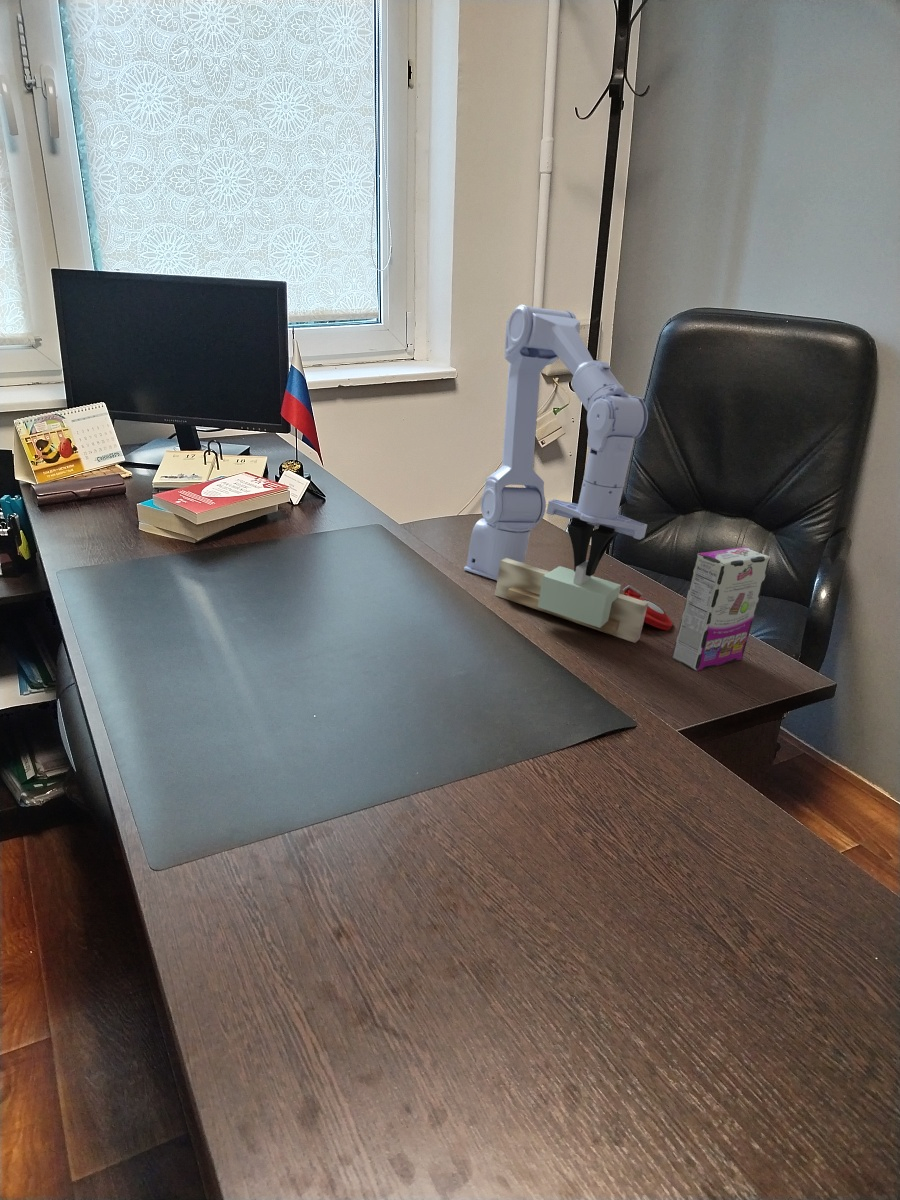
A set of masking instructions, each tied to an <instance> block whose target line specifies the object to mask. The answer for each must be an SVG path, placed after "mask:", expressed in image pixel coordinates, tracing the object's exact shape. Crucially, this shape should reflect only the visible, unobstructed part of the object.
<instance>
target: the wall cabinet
mask: <svg viewBox="0 0 900 1200" xmlns="http://www.w3.org/2000/svg"><path fill="white" fill-rule="evenodd" d="M587 563H588V559H586V561H585V562H583V563H582V564H580V565H578V566H577V567H576V571H575V572H574V569H571V568H568V567H564V566H561V565H559V566H557V567H555V568H554V569H552V570H551V571H550V572H549V573H547V574H546V575H544V576H543V579H542V585H541V590H540V596H539V602H538V607H539V608H542V609H545V610H548V611H551V612H554V613H557V614H560V615H563V616H566V617H569V618H572V619H575V620H578V621H581V622H584V623H587V624H590V625H593V626H596V627H599V628H600V627H601V626H603V625H604V624H605V623H606V622H607V621H608V619H609V614H610V609H611V605H612V602H613V601H614V600H616V599H617V598H618V597H619V593H620V591H621V586H622V584H619V583H616V582H613V581H610V580H607V579H603V578H600V577H597V576H594V575H591V576H587V575H586V567H587Z"/></svg>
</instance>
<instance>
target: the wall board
mask: <svg viewBox="0 0 900 1200" xmlns="http://www.w3.org/2000/svg"><path fill="white" fill-rule="evenodd" d="M549 572H550V571H549V570H546V569H543V568H539V567H537V566H534V565H530V564H527V563H525V562H524V563H521V562H518V561H515V560H512V559H509V558H505V559H503V560H501V562H500V568H499V573H498V579H497V580H496V586H495V591H494V596H496V597H499V598H501V599H505V600H507V601H511V602H513V603H517V604H520V605H522V606H525V607H529V608H531V609H535V610H537V611H540V612H543V613H547V614H549V615H551V616H555V617H558V618H561V619H564V620H567V621H569V622H573V623H576V624H578V625H582V626H584V627H587V628H591V629H593V630H597V631H599V632H603V633H604V634H607V635H611V636H614V637H616V638H619V639H623V640H625V641H628V642H632V643H635V644H636V643H637V642H638V641H639V640H640V639H641V634H642V630H643V628H644V627H643V626H644V624H645V622H644V619H645V614H646V610H647V606H648V602H645V601H642V600H639V599H636V598H632V597H629V596H626V595H623V594H624V593H620V592H619V597H618V598H617V599H616V600H614V601H613V602H612V605H611V609H610V614H609V619H608V621H607V622H606V623H605V624H604V625H603V626H601V627H600V628H599V627H596V626H593V625H590V624H587V623H584V622H581V621H578V620H575V619H572V618H569V617H566V616H563V615H560V614H557V613H554V612H551V611H548V610H545V609H542V608H539V607H538V602H539V596H540V590H541V585H542V579H543V576H544V575H546V574H547V573H549Z"/></svg>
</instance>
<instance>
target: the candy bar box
mask: <svg viewBox="0 0 900 1200" xmlns="http://www.w3.org/2000/svg"><path fill="white" fill-rule="evenodd" d="M771 558H772V557H771V556H769V555H767V554H764V553H761V552H760V551H757V550H755V549H751V548H749V547H745V546H741V547H734V548H727V549H720V550H712V551H707V552H706V551H705V552H698V553H697V555H696V558H695V563H694V567H693V573H692V576H691V579H690V583H689V587H688V591H687V594H686V595H687V596H686V601H685V604H684V608H683V612H682V616H681V619H680V623H679V628H678V632H677V636H676V640H675V644H674V648H673V653H672V655H671V657H672V659H673V660H675V661H677V663H680V664H682V665H685V666H686V667H689V668H690V669H692V670H693V671H696V672H699V671H703V670H707V669H710V668H711V669H712V668H714V667H718V666H721V665H726V664H728V663H733V662H737V661H739V660H742V659H743V656H744V654H745V650H746V645H747V642H748V639H749V634H750V631H751V627H752V624H753V621H754V617H755V615H756V610H757V606H758V603H759V600H760V597H761V593H762V588H763V585H764V582H765V578H766V576H767V575H766V574H767V570H768V568H769V563H770V560H771Z"/></svg>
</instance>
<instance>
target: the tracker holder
mask: <svg viewBox="0 0 900 1200" xmlns="http://www.w3.org/2000/svg"><path fill="white" fill-rule="evenodd" d="M622 591H623V593H622V594H623V595H626V596H629V597H632V598H636V599H639V600H642V601H645V602H648V606H647V610H646V614H645V619H644V624H645V623H646V624H648V625H650V626H652V627H653V628H656V629H660V630H662V631H670V630H671V629H672V626H673V622H672V620H671V619H670V617H669V616H668V615H667V613H666V612H665V611H664V609H663V608H661V607H660V606H659V605H657V604H656V603H654V602H652V601H651V600H648V599H645V598H641V597H643V593H642V592H641V591H639V590H638V589H636V588H635V587H633V586H632V585H630V584H629V585H627V586H626V587H624V588H623V589H622Z"/></svg>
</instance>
